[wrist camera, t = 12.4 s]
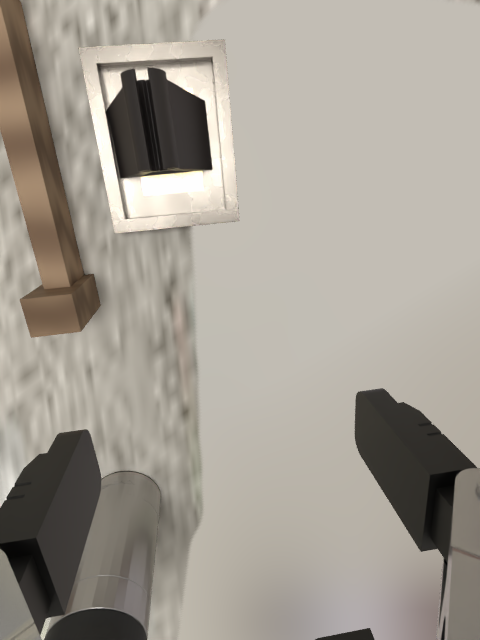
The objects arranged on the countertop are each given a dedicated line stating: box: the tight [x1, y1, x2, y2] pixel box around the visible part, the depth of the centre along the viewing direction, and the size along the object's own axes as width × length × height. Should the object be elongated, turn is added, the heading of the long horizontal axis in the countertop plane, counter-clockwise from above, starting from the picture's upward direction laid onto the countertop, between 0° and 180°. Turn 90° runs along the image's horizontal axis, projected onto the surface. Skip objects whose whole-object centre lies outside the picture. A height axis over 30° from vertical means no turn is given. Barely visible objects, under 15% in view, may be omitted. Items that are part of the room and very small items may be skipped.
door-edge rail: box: [0, 0, 101, 337], centre depth 33 cm, size 28×4×8 cm, turn 5°
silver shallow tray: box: [79, 40, 239, 233], centre depth 36 cm, size 15×12×3 cm
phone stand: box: [107, 67, 213, 179], centre depth 30 cm, size 9×6×12 cm, turn 95°
